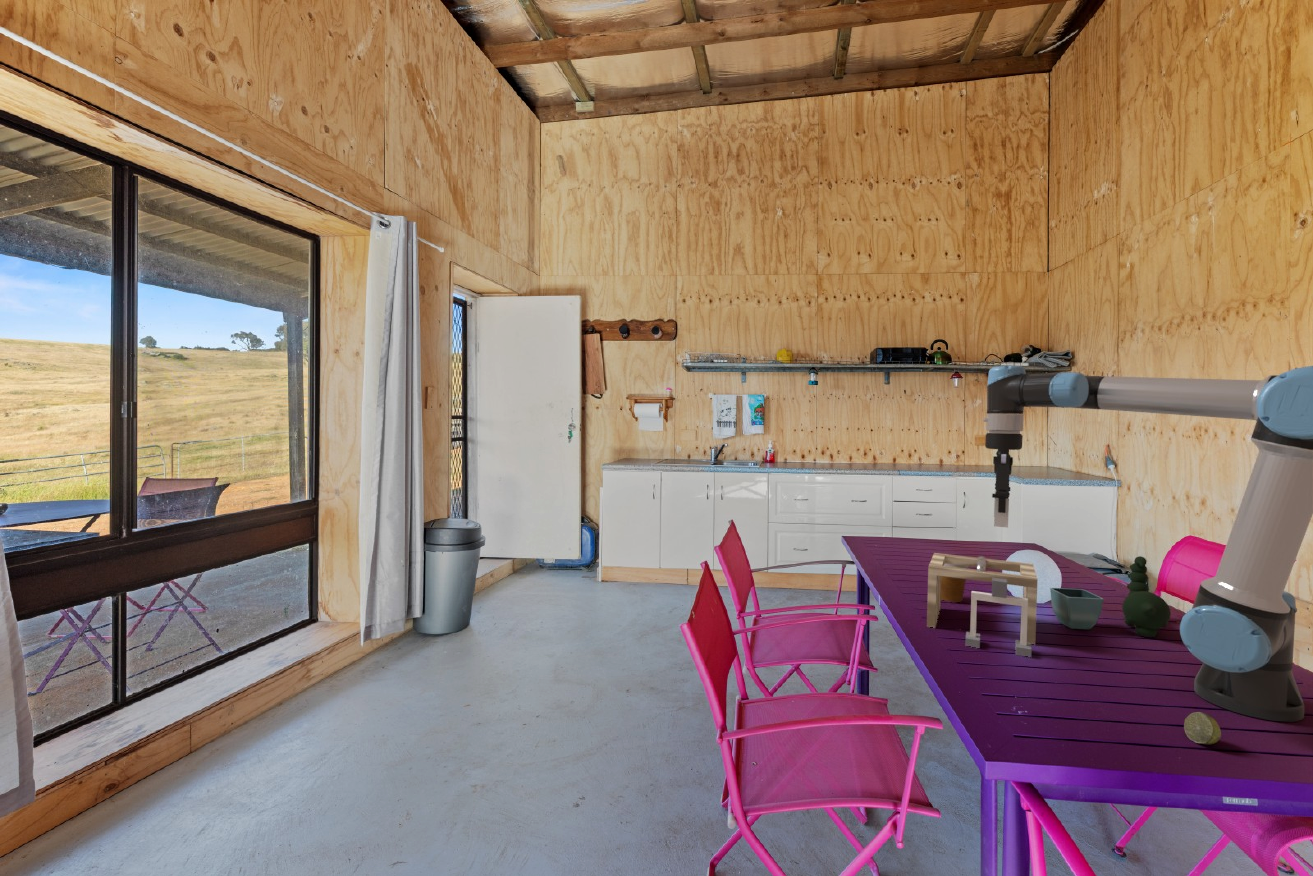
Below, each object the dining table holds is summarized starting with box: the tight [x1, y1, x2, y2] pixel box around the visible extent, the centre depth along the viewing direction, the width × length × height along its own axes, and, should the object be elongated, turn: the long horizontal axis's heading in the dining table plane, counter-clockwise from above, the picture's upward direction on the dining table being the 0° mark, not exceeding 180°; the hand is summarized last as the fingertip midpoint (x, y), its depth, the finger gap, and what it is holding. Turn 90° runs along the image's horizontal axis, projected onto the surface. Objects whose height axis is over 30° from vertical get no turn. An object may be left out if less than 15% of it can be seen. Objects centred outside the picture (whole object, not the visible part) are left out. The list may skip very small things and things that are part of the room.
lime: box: [1183, 711, 1222, 745], centre depth 101 cm, size 4×5×5 cm
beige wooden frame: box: [926, 552, 1039, 646], centre depth 157 cm, size 18×24×17 cm
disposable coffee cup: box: [941, 563, 970, 603], centre depth 178 cm, size 10×10×12 cm
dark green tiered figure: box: [1121, 555, 1172, 639], centre depth 154 cm, size 9×19×25 cm
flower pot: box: [1049, 587, 1105, 630], centre depth 156 cm, size 9×9×9 cm
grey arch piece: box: [964, 578, 1032, 658], centre depth 141 cm, size 5×13×16 cm, turn 60°
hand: (1000, 522), depth 140 cm, fingers open, 13 cm apart
